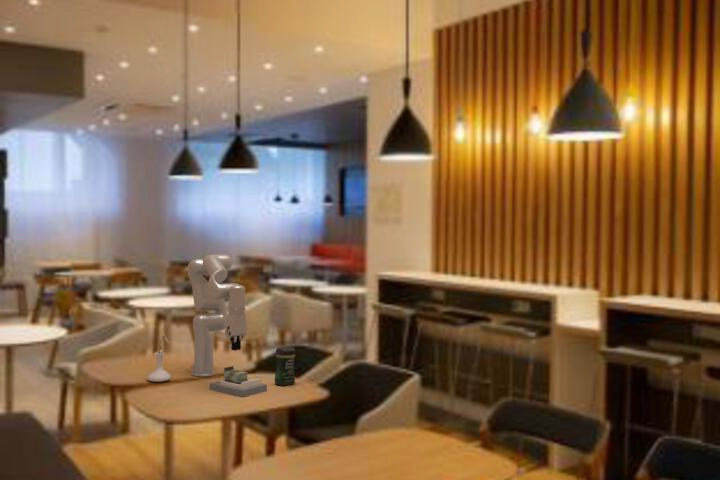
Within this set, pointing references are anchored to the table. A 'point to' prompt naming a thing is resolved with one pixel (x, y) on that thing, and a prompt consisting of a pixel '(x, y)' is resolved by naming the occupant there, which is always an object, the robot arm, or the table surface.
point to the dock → (239, 387)
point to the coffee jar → (285, 366)
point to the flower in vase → (159, 366)
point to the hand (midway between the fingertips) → (235, 349)
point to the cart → (234, 375)
